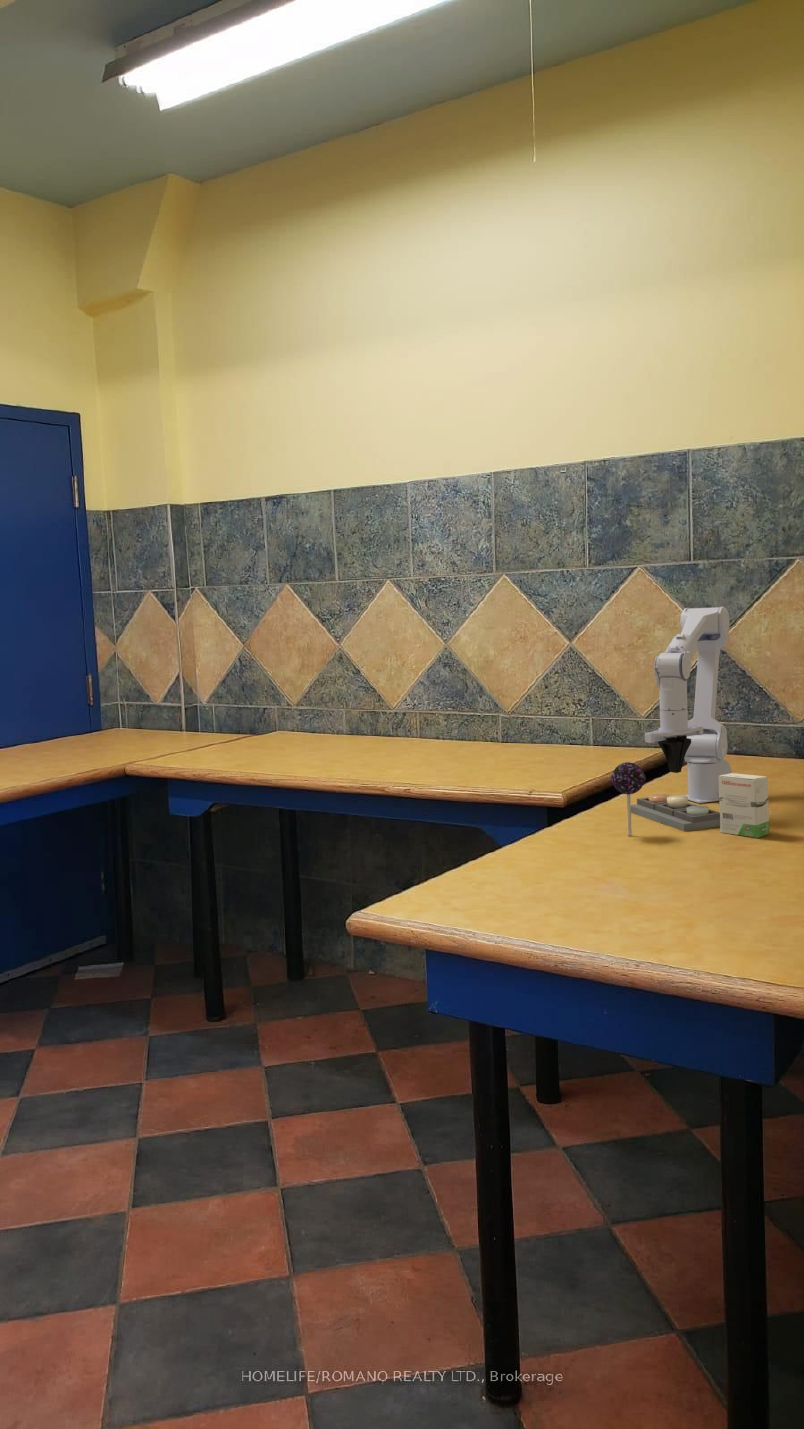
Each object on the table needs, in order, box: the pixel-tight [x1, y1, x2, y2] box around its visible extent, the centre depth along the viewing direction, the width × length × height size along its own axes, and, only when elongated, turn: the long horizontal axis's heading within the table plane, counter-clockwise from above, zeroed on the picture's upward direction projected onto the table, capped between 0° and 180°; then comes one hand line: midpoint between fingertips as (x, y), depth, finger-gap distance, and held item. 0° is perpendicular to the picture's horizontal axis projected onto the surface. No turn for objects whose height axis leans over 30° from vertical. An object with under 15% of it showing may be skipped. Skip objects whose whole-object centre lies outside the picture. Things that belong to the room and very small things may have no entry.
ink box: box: [718, 772, 771, 839], centre depth 215 cm, size 9×5×12 cm, turn 39°
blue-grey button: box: [687, 805, 710, 816], centre depth 224 cm, size 4×4×2 cm
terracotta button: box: [648, 793, 670, 803], centre depth 239 cm, size 4×4×2 cm
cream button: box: [667, 794, 689, 808], centre depth 231 cm, size 4×4×2 cm
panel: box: [631, 796, 720, 832], centre depth 232 cm, size 11×22×3 cm, turn 18°
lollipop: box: [610, 761, 647, 837], centre depth 218 cm, size 7×7×15 cm
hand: (675, 772), depth 231 cm, fingers closed
